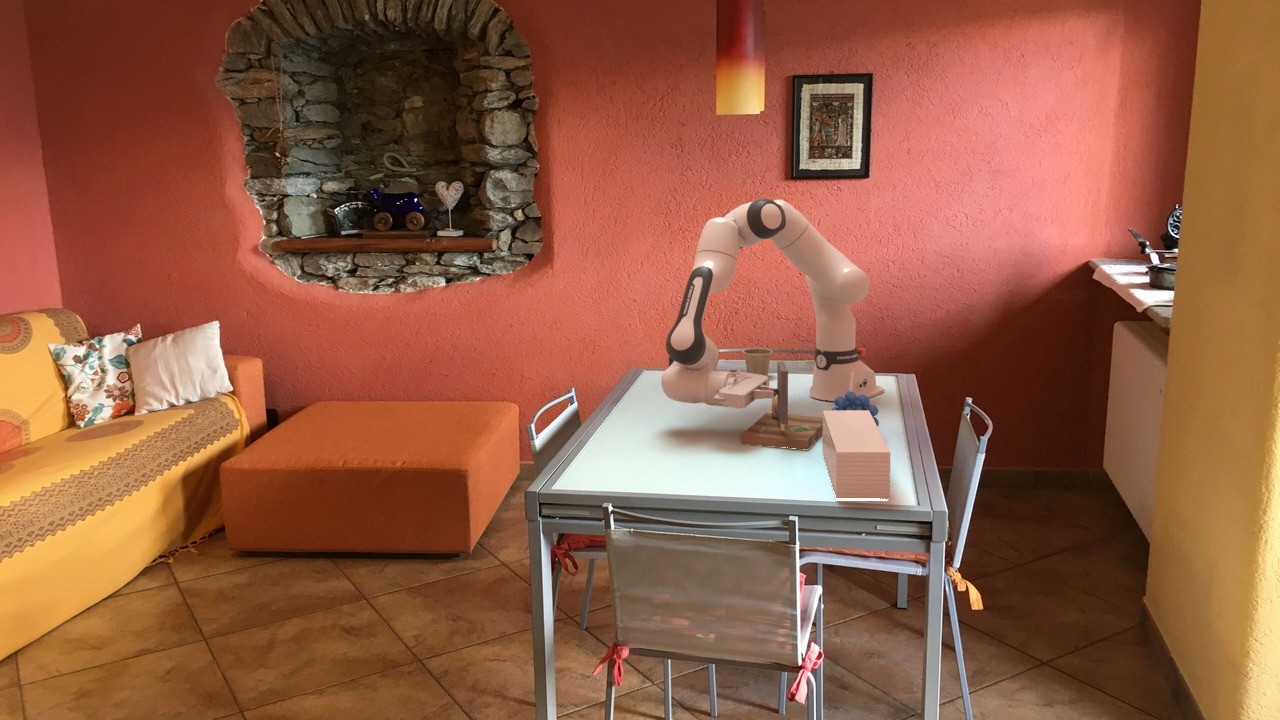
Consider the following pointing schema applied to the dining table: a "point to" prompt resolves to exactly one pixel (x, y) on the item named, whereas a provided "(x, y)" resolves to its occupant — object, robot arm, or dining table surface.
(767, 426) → the wooden cutting board
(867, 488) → the stack of papers
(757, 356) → the flower pot
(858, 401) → the grapes
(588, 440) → the dining table surface
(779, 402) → the paddle
